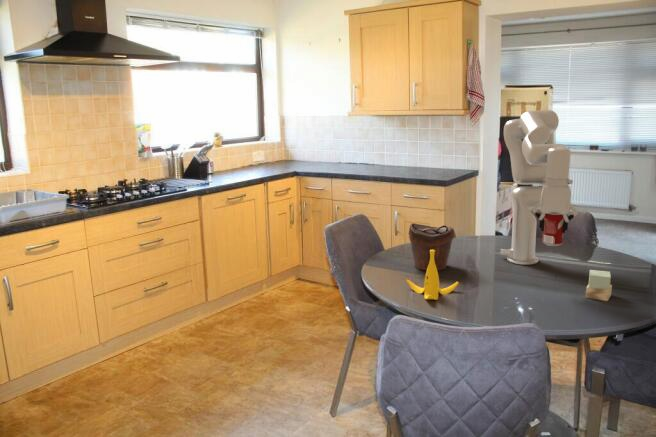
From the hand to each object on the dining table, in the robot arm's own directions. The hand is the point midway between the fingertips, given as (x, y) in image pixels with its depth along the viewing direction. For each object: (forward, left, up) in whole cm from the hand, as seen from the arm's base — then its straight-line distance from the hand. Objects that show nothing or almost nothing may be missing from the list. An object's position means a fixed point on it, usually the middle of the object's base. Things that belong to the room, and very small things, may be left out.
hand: (553, 230), depth 212 cm
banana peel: (-37, -21, -22) cm, 47 cm away
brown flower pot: (-47, +9, -21) cm, 52 cm away
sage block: (+16, -4, -18) cm, 24 cm away
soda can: (0, 0, -5) cm, 5 cm away
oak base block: (+16, -5, -22) cm, 27 cm away
